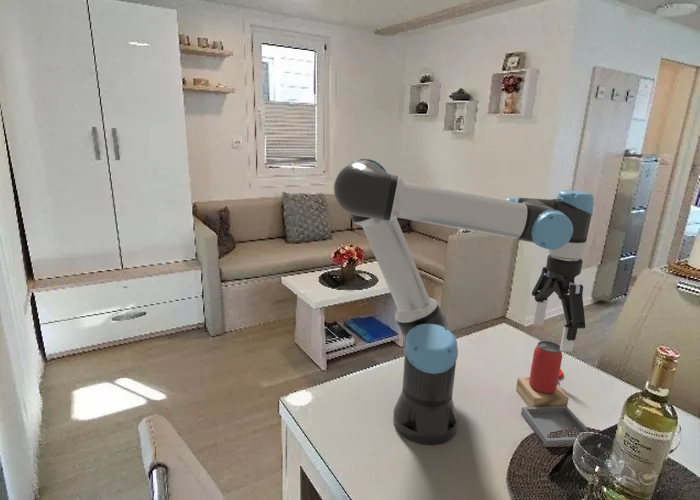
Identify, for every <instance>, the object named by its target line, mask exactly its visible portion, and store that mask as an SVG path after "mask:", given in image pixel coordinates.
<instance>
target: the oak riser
mask: <svg viewBox="0 0 700 500" xmlns="http://www.w3.org/2000/svg"><path fill="white" fill-rule="evenodd" d="M529 379H530V376H529V377H517V379H516V380H517V381H516V387H515V392H517V394H518V395H519V396H520V398H521V399H522V400H523V402H524V403H525V404H526V406H527V407H546V406H567V407H568V402H569V398H570V397H569V395H567V393H566V392H565V391H564V390H563V389H562V388H561V387H560V386H559V385H558V384H557V388H556V390H555V391H554V392H553V393H542V392H539V391H537V390H535V389H533V388H532V387H531V386H530V383H529Z"/></svg>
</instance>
